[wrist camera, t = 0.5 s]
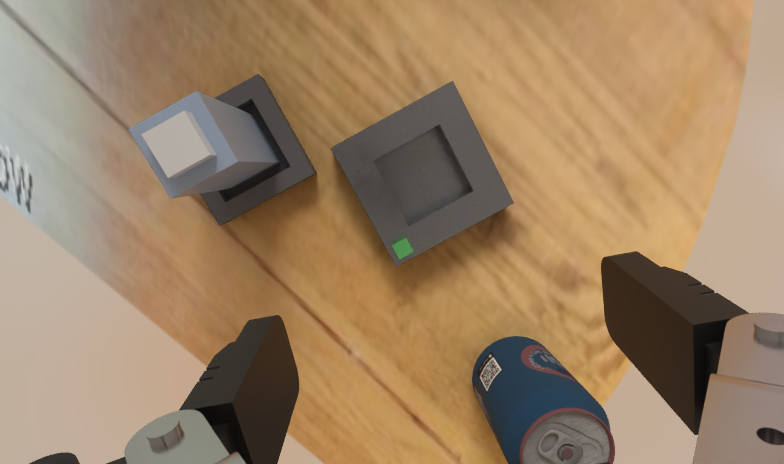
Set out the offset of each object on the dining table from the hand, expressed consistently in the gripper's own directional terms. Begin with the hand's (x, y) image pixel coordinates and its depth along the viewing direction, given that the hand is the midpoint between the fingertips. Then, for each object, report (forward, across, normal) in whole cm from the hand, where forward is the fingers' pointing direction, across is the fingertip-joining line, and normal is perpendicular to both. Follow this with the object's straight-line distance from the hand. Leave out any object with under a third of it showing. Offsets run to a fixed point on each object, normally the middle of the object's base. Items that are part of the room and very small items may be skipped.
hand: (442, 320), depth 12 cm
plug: (+26, +12, -3) cm, 29 cm away
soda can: (+25, -5, +19) cm, 31 cm away
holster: (+26, +12, -3) cm, 29 cm away
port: (+27, -1, +1) cm, 27 cm away
